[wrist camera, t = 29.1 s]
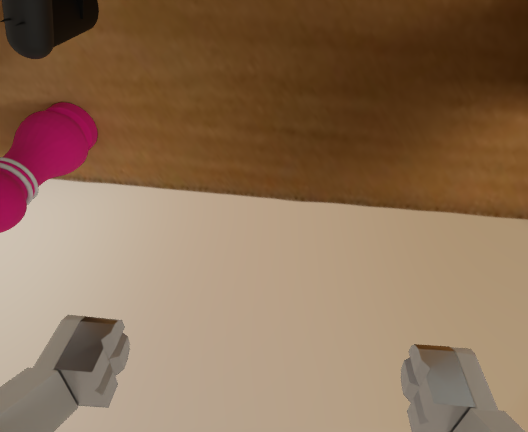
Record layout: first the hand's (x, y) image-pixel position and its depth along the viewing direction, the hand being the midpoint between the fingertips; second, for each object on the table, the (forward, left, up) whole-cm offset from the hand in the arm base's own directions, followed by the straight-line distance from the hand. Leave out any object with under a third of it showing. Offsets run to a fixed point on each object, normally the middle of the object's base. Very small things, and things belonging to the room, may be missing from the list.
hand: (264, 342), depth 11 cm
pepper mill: (+26, +11, -35) cm, 45 cm away
